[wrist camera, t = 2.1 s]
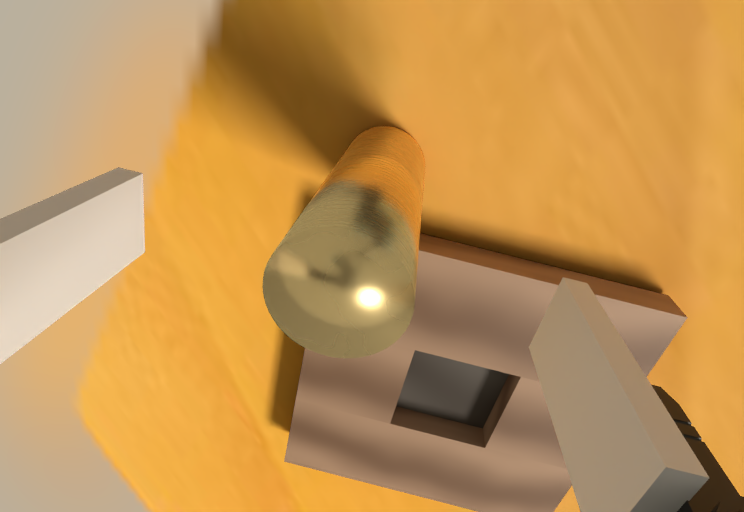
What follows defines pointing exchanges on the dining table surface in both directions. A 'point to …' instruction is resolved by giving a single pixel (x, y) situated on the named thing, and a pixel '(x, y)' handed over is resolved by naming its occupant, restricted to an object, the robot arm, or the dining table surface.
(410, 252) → the pin
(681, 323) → the board
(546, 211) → the dining table surface
